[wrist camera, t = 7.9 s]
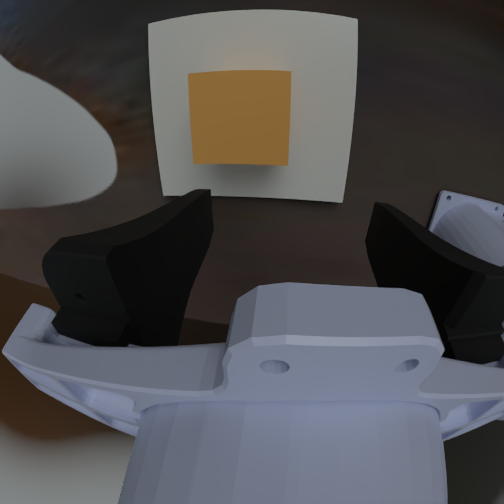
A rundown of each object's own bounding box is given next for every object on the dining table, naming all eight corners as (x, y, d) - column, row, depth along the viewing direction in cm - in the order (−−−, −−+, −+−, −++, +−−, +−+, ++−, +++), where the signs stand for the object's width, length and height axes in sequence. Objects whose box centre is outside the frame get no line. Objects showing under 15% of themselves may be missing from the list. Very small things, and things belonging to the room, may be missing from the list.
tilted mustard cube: (288, 73, 14) (291, 71, 10) (286, 143, 17) (287, 165, 13) (211, 73, 15) (188, 73, 11) (214, 141, 18) (193, 164, 14)
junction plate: (353, 21, 12) (372, 9, 9) (339, 197, 20) (350, 224, 17) (154, 25, 13) (125, 18, 10) (167, 190, 22) (147, 215, 18)
